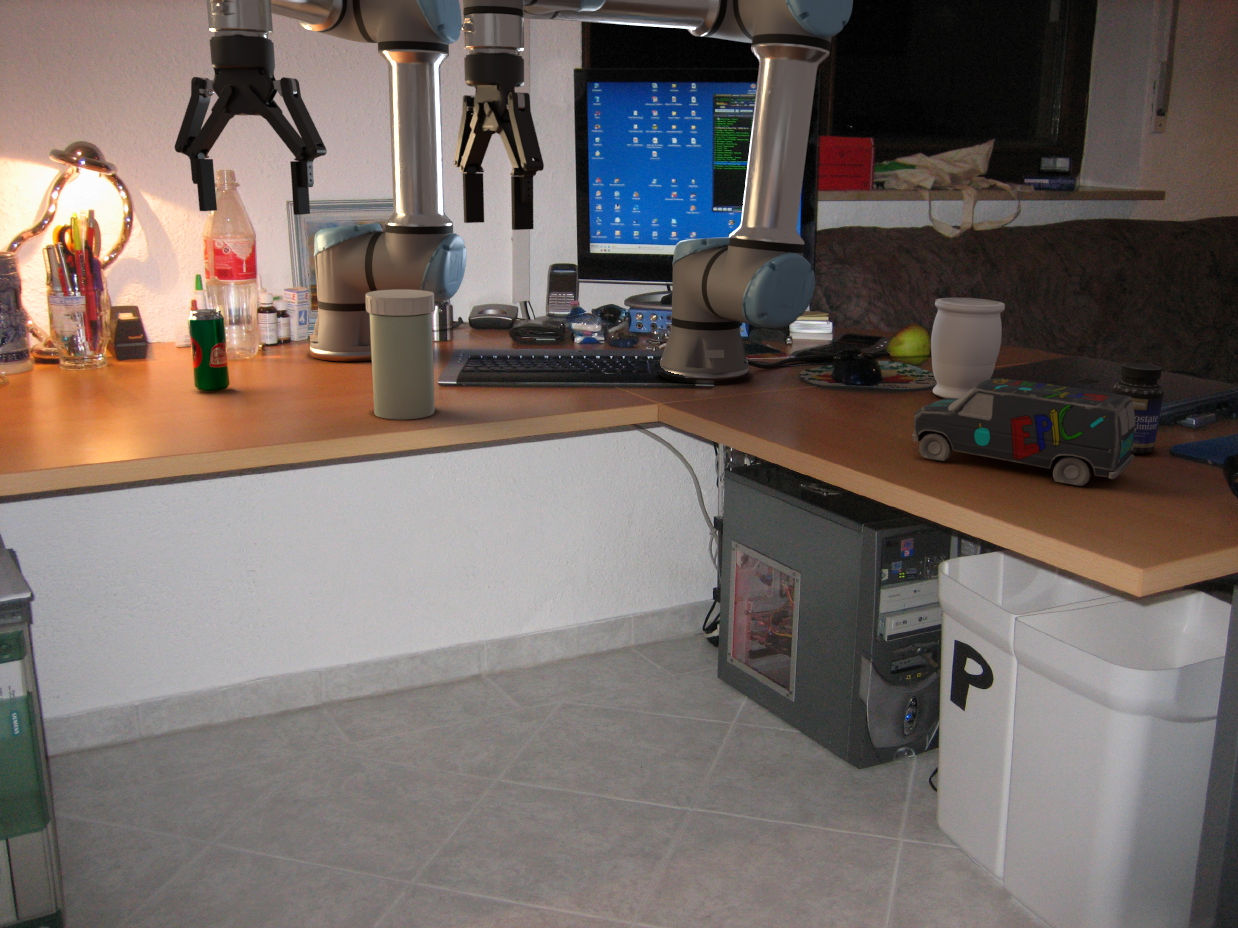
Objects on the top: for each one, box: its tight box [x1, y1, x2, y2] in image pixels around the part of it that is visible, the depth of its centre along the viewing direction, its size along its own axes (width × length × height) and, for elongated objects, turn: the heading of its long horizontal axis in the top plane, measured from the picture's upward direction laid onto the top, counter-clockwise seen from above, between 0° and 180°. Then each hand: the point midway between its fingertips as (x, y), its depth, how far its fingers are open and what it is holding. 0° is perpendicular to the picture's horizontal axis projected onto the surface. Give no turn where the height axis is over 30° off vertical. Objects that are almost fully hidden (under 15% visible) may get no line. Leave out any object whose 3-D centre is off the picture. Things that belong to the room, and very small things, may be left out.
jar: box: [930, 297, 1006, 399], centre depth 168 cm, size 11×10×15 cm
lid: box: [365, 289, 436, 316], centre depth 149 cm, size 9×9×2 cm
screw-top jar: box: [370, 312, 436, 421], centre depth 151 cm, size 8×8×16 cm
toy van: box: [911, 377, 1136, 487], centre depth 131 cm, size 11×25×10 cm, turn 54°
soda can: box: [187, 308, 231, 393], centre depth 163 cm, size 5×5×12 cm
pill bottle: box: [1111, 362, 1165, 455], centre depth 139 cm, size 6×6×11 cm
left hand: (254, 213), depth 138 cm, fingers open, 13 cm apart
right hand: (497, 226), depth 141 cm, fingers open, 13 cm apart
